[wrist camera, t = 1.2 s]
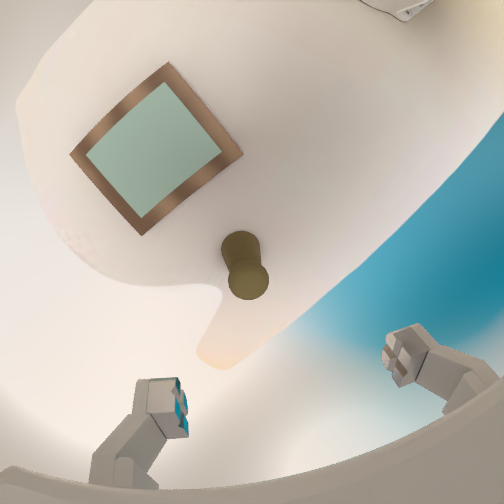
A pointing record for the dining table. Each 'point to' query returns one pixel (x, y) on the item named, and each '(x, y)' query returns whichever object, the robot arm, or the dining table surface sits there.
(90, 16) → the dining table surface
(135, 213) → the wooden tray
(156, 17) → the dining table surface
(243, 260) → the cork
